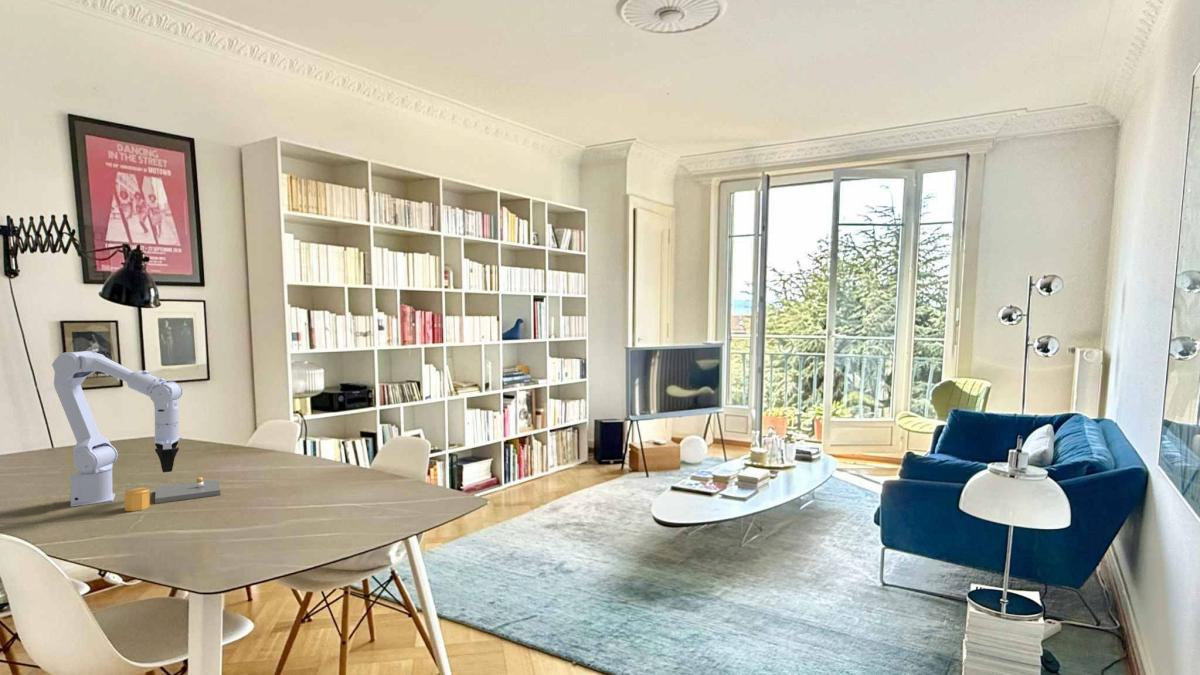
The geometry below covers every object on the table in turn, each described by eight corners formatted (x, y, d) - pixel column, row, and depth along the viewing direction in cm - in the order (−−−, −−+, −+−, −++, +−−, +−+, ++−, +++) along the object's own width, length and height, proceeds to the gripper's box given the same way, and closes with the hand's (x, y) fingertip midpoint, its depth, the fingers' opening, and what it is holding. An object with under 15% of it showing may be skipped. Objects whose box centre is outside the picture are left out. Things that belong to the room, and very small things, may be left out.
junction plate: (155, 503, 176) (155, 488, 175) (156, 491, 187) (155, 477, 187) (220, 494, 185) (220, 480, 185) (217, 483, 196) (217, 470, 196)
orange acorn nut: (124, 512, 168) (124, 494, 168) (125, 507, 172) (125, 489, 172) (149, 508, 171) (148, 491, 171) (149, 503, 175) (149, 486, 175)
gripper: (184, 426, 176) (184, 472, 177) (182, 418, 188) (182, 462, 188) (153, 428, 172) (154, 475, 172) (153, 420, 184) (154, 465, 184)
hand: (167, 469), depth 180 cm, fingers open, 7 cm apart
